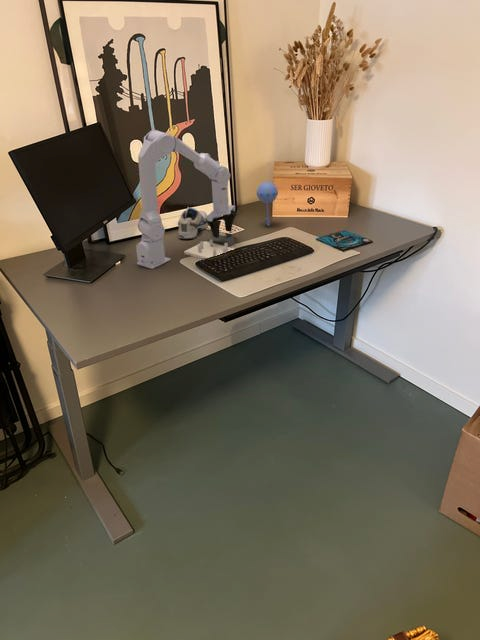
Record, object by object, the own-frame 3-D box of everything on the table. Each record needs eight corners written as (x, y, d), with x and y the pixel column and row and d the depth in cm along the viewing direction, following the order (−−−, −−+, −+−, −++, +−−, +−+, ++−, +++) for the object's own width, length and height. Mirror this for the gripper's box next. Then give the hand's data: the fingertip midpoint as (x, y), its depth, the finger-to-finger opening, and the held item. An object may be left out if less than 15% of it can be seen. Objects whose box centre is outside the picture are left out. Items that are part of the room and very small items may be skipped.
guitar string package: (343, 250, 175) (316, 238, 186) (342, 253, 176) (315, 241, 187) (372, 240, 182) (345, 229, 193) (372, 244, 182) (344, 233, 194)
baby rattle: (254, 223, 205) (253, 180, 196) (273, 220, 207) (273, 178, 198) (261, 229, 198) (260, 185, 189) (280, 227, 200) (281, 183, 191)
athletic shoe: (211, 220, 209) (203, 194, 204) (202, 241, 190) (192, 212, 184) (189, 226, 212) (180, 200, 206) (178, 246, 192) (168, 218, 186)
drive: (234, 244, 186) (234, 234, 184) (228, 247, 183) (228, 237, 181) (217, 240, 190) (216, 230, 187) (211, 244, 187) (210, 234, 185)
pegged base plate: (218, 263, 170) (217, 253, 168) (184, 253, 179) (183, 244, 177) (238, 252, 178) (238, 243, 177) (205, 243, 187) (204, 235, 185)
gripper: (216, 205, 170) (218, 242, 177) (240, 195, 180) (242, 230, 187) (201, 202, 174) (204, 238, 181) (225, 192, 184) (227, 227, 191)
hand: (222, 234), depth 184 cm, fingers open, 7 cm apart
